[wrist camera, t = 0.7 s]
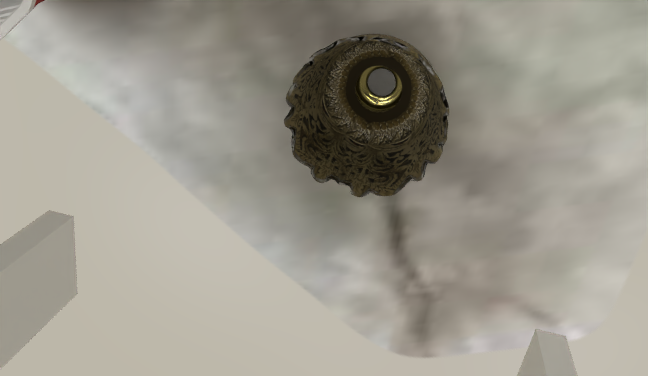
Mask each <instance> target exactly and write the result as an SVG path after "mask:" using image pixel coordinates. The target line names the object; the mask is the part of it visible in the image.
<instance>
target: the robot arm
mask: <svg viewBox="0 0 648 376" xmlns="http://www.w3.org/2000/svg"><path fill="white" fill-rule="evenodd" d="M76 294H77V277H76V256H75V237H74V217H73V216H70V215H66V214H62V213H57V212H54V211H47V212H46V213H45V214H43V215H42V216H40V217H39V218H37V219H36V220H35V221H33V222H32V223H30V224H29V225H28V226H26V227H25V228H23V229H22V230H21V231H19V232H18V233H16V234H15V235H14V236H12V237H10V238H9V239H8V240H6V241H5V242H3V243H2V244H0V369H1V368H2V367H3V366H4V365H5V364H6V363H7V362H8V361H9V360H10V359H11V358H12V357H13V356H14V355H15V354H16V353H17V352H19V350H20V349H21V348H23V347H24V346H25V344H27V343H28V342H29V341H30V339H32V338H33V337H34V336H35V335H36V334H37V333H38V332H39V331H40V330H41V329H42V328H43V327H44V326H45V325H46V324H47V323H48V322H49V321H50V320H51V319H52V318H53V317H54V316H55V315H56V314H57V313H58V312H59V311H60V310H61V309H62V308H63V307H64V306H65V305H66V304H67V303H68V302H69V301H70V300H71V299H72V298H73V297H74V296H75V295H76ZM517 376H577V373H576V369H575V366H574V363H573V359H572V356H571V353H570V349H569V346H568V342H567V339H566V336H562V335H558V334H554V333H550V332H546V331H542V330H538V329H536V330H535V333H534V335H533V337H532V340H531V342H530V345H529V347H528V350H527V352H526V355H525V357H524V360H523V362H522V365H521V367H520V370H519V372H518V375H517Z"/></svg>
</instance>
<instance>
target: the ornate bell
mask: <svg viewBox="0 0 648 376" xmlns="http://www.w3.org/2000/svg"><path fill="white" fill-rule="evenodd" d="M379 68H384V69H387V70H389V71H391V72H392V73H393V74H394V76H395V79H396V86H395V89H394V90H393V92H392V93H391V94H389V95H387V96H383V97H380V96H376V95H374V94H373V93H372V92H371V91H370V90H369V88H368V83H367V82H368V77H369V75H370V74H371V73H372V72H373V71H374V70H376V69H379ZM293 84H294V85H292V86H291V88H290V89H289V92H288V94H287V97H286V102H287V104H288V105H289V106H290V107H291V110H290V112H289V114H288V115H287V116H286V118H285V119H284V124H285V126H286V127H287V128H289V129H290V130H292V140H291V145H292V152H293V155H294V157H295V158H296V159H297V160H298V161H299V162H300V163H302V164H304V165H305V166H308V167H309V168H311V174H312V176H313V178H314V179H315V180H316V181H317V182H320V183H324V182H327V181H329V180H330V179H333V180H335V181H336V182H337V183H338V184H340V185H343V184H345V185H347V186H350V188H351V190H352V191H350V192H351V194H352V195H354V196H357V197H363V196H366V195H367V194H369V193H370V192H371V193H373V194H375V195H378V196H391V195H394V194H396V193H397V192H398V191H400V190H401V189H402V188H403V187H405V185H406V184H407V183H408V182H409V181H410V180H411V179H414V180H411V181H420V180H422V179H423V177H424V175H425V169H426V166H427V163H430V164H434V163H435V162H437V160H438V159H439V158H440V156H441V154H442V151H443V146H442V145H444V144H445V142H446V140H447V128H448V120H447V116H448V115H449V106H448V102H447V99H446V97H445V93H444V88H443V85H442V83H441V81H440V79H439V77H438V76H437V75H436V73H435V71H434V70H433V68H432V66H431V65H430V63H429V62H428V61H427V59H426V58H425V57H424V56H423V55H422V54H421V53H420V52H419V51H418V50H417V49H415V48H414V47H413V46H411V45H410V44H408V43H407V42H405V41H403V40H400V39H398V38H395V37H392V36H387V35H380V34H367V35H360V36H355V37H351V38H345V39H340V40H338V41H335V42H334V43H332V44H331V45H329V46H327V47H326V48H324V49H321V50H319V51H317V52H316V53H314V54H313V55H312V56H311V57H310V62H309V63H307V64H305V65H304V66H303V68H302V69H301V70H300V71H299V72H298V73H297V75H296V76H295V78H294V80H293ZM326 179H327V180H326Z"/></svg>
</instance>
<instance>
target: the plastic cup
mask: <svg viewBox="0 0 648 376" xmlns="http://www.w3.org/2000/svg"><path fill="white" fill-rule="evenodd" d="M42 1H44V0H0V40H1V39H2V38H3V37H4V36H6V35H7V34H8V33H9V32H10V31H11V30H12V29H13V28H14V27H15V26H16V25H17V24H18V23H19V22H20V21H21V20H22V19H23V18H24V17H25V16H26V15H27V14H28V13H29V12H30V11H31V10H32V9H34V7H35V6H36V5H37V4H38V3H40V2H42Z"/></svg>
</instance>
